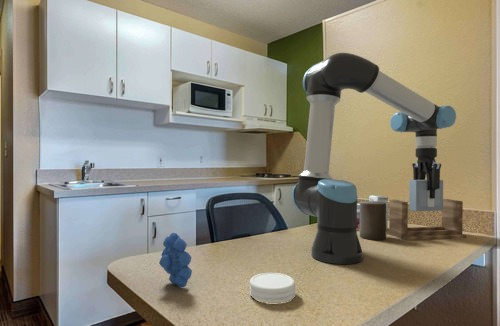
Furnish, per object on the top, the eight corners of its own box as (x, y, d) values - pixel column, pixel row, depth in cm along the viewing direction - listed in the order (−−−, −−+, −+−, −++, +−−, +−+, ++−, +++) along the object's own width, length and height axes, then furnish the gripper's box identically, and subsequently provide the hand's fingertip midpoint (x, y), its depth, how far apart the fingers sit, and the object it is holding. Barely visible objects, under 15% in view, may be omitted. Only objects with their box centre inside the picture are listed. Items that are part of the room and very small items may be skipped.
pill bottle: (356, 227, 141) (356, 202, 141) (369, 229, 137) (369, 204, 137) (348, 229, 137) (348, 203, 137) (361, 231, 133) (361, 205, 133)
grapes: (148, 282, 76) (148, 232, 76) (173, 275, 80) (174, 228, 80) (170, 298, 67) (171, 241, 67) (198, 289, 72) (198, 236, 72)
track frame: (405, 240, 119) (405, 202, 119) (386, 233, 130) (386, 199, 130) (466, 237, 123) (466, 201, 123) (443, 231, 135) (443, 198, 135)
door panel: (416, 211, 124) (416, 180, 124) (409, 209, 128) (409, 179, 128) (443, 210, 126) (443, 180, 126) (435, 208, 130) (435, 179, 130)
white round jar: (278, 283, 76) (278, 269, 76) (304, 299, 67) (304, 283, 67) (241, 291, 71) (241, 276, 71) (264, 310, 62) (264, 292, 62)
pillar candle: (389, 241, 117) (389, 200, 117) (361, 239, 119) (362, 199, 119) (382, 235, 127) (382, 198, 127) (357, 234, 128) (357, 197, 128)
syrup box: (368, 227, 140) (368, 195, 140) (379, 227, 142) (379, 195, 142) (376, 230, 135) (377, 196, 135) (388, 229, 137) (388, 196, 137)
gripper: (451, 146, 119) (451, 208, 119) (419, 148, 136) (419, 202, 136) (433, 146, 117) (433, 209, 118) (403, 148, 134) (403, 203, 135)
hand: (426, 205), depth 127 cm, fingers closed on door panel, 4 cm apart
